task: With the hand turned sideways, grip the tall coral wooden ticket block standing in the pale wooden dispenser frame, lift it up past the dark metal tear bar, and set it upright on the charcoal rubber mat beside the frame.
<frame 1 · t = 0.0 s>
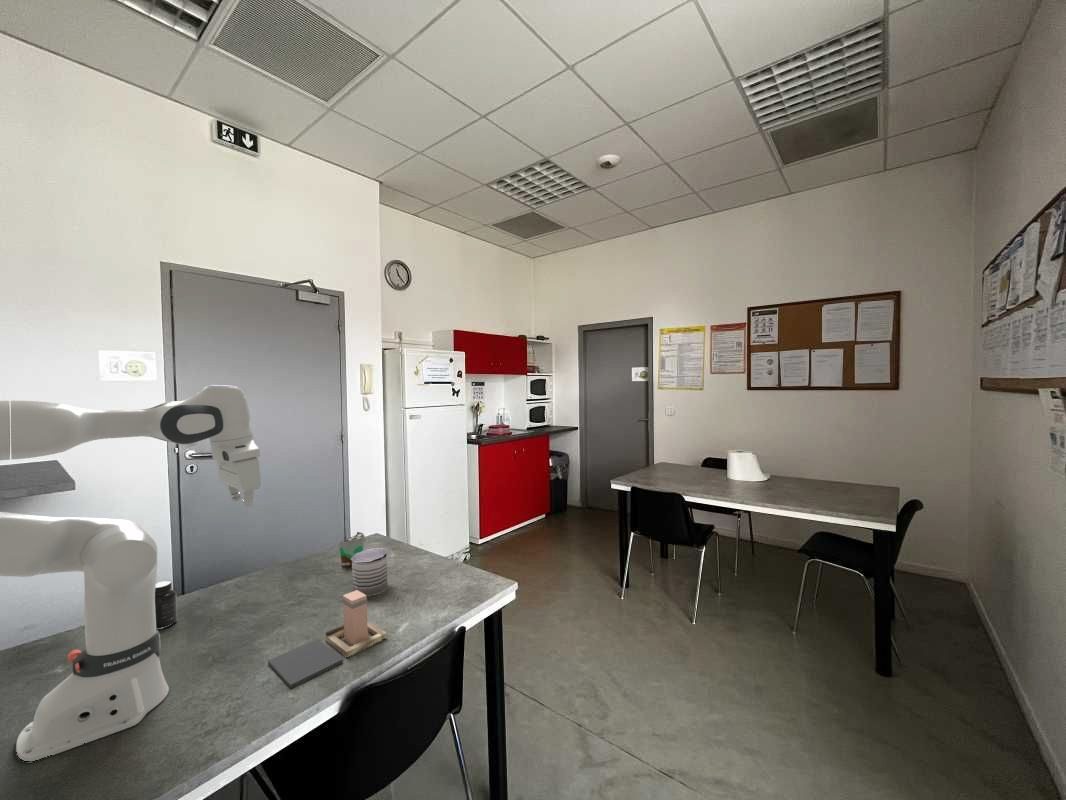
hand: (242, 503, 112), 39 cm above the table, tool pointing down, fingers open, 8 cm apart
ticket block: (356, 639, 119), resting in dispenser frame
dispenser frame: (356, 639, 119), on the table
can: (370, 589, 149), on the table
food container: (356, 563, 171), on the table
mat: (305, 663, 109), on the table
supplement bottle: (162, 625, 128), on the table
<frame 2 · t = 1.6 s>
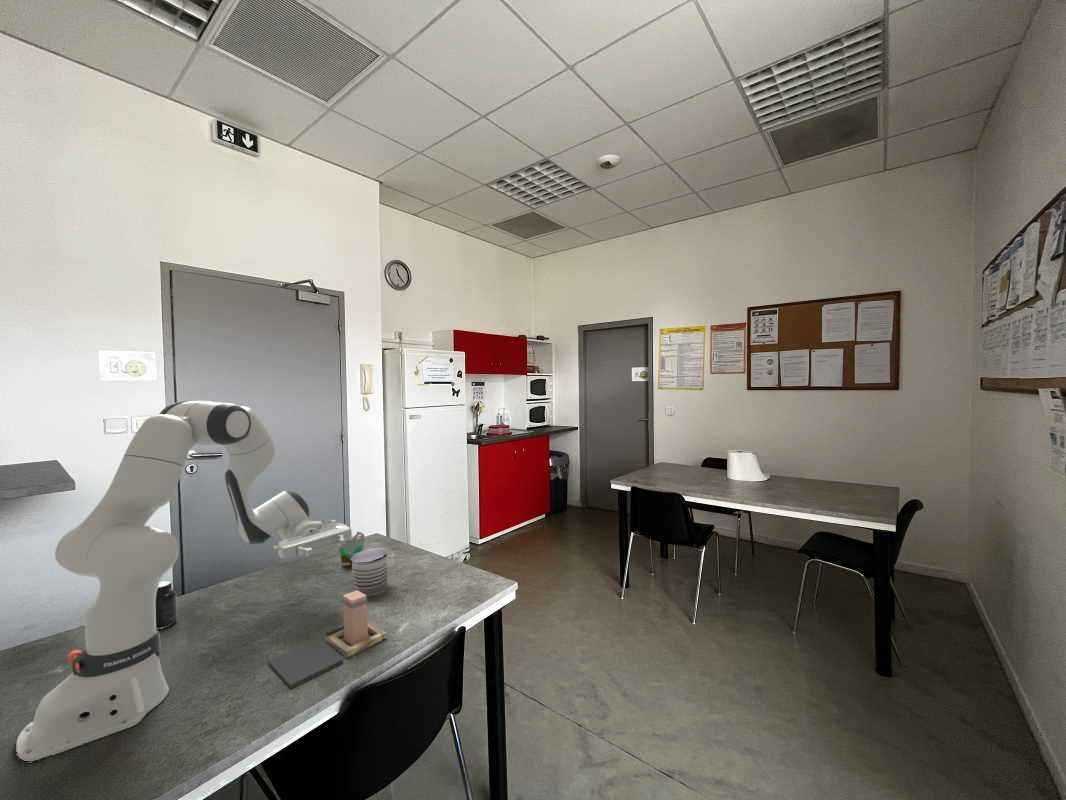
hand: (327, 547, 129), 21 cm above the table, tool horizontal, fingers open, 8 cm apart
nothing on the table moved.
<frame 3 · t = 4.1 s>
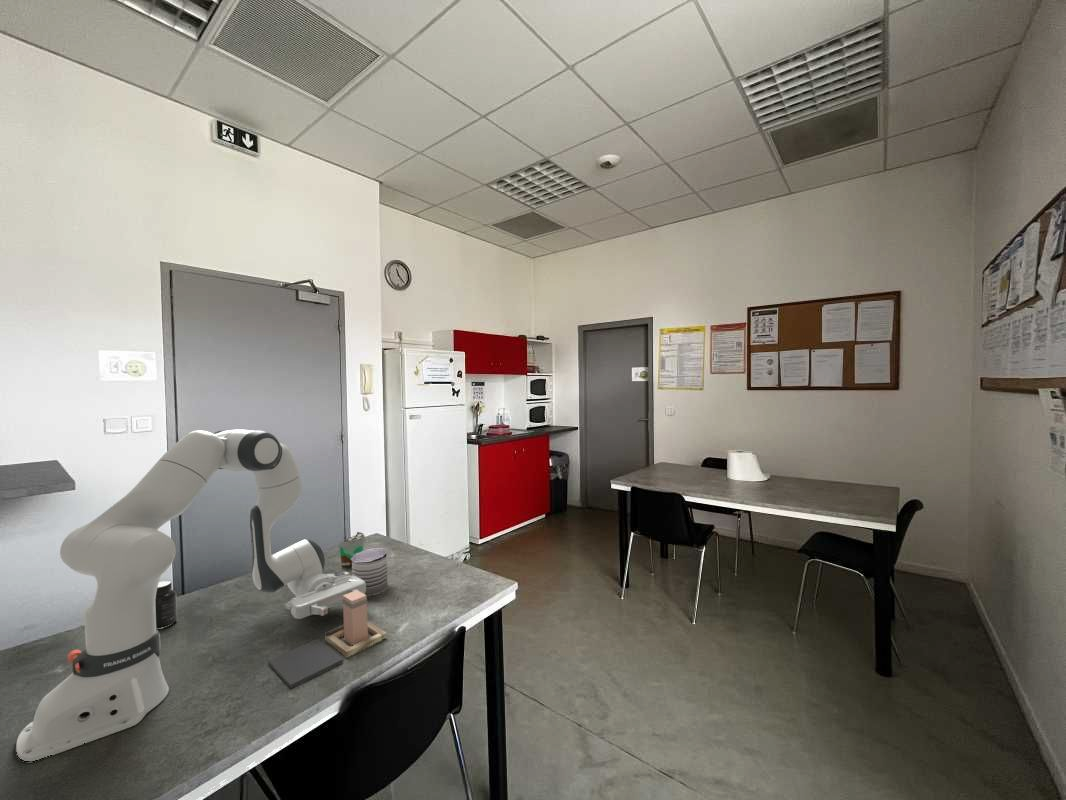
hand: (342, 605, 123), 7 cm above the table, tool horizontal, fingers open, 8 cm apart
nothing on the table moved.
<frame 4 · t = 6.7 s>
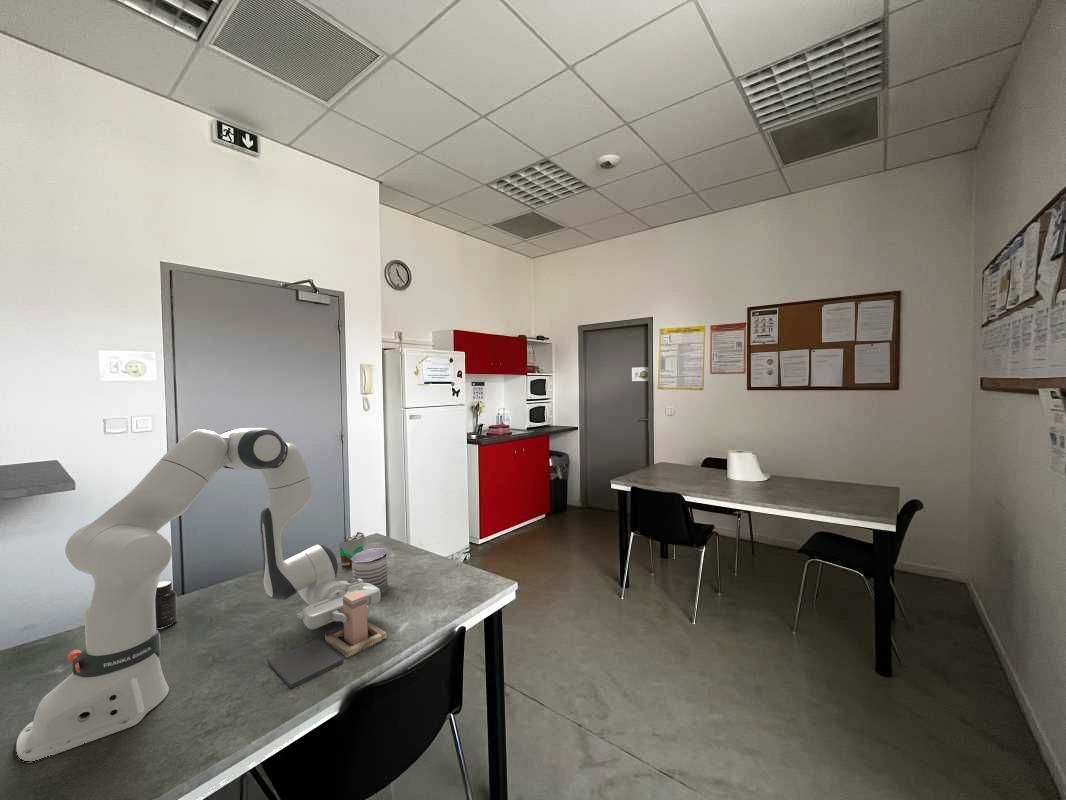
hand: (356, 614, 118), 7 cm above the table, tool horizontal, fingers closed on ticket block, 4 cm apart
ticket block: (356, 639, 119), resting in dispenser frame, touching gripper
everything else where it was.
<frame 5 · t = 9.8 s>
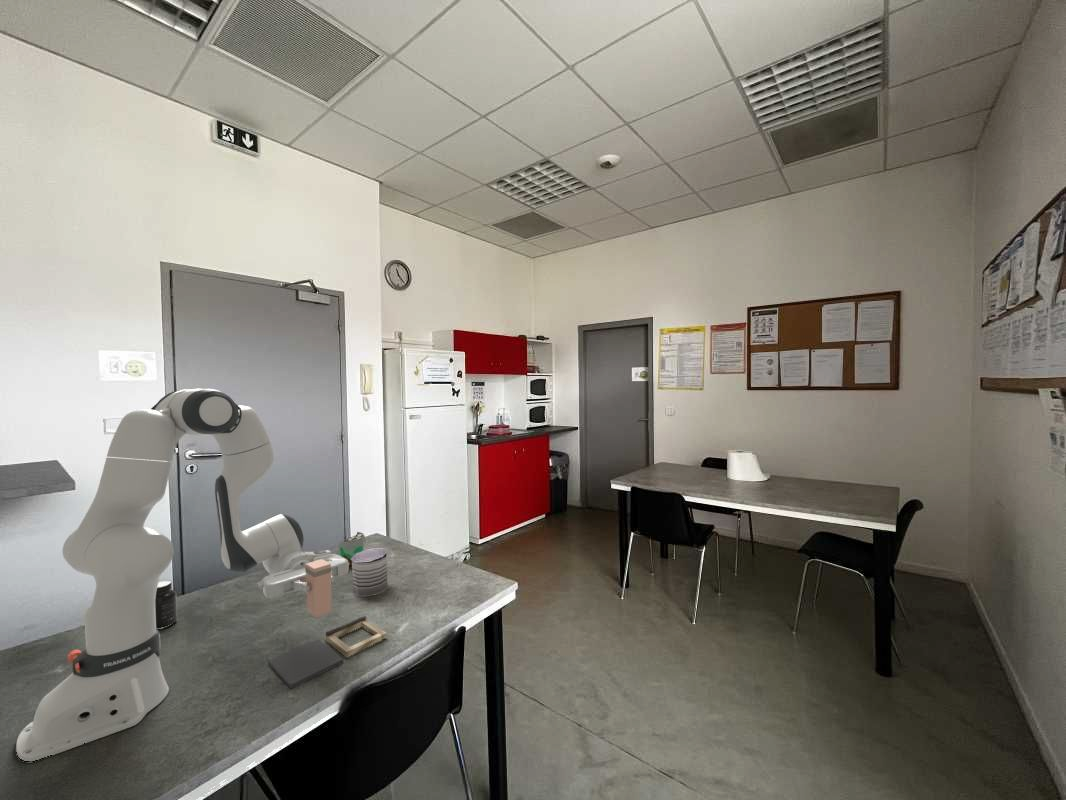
hand: (320, 584, 110), 19 cm above the table, tool horizontal, fingers closed on ticket block, 4 cm apart
ticket block: (319, 611, 111), point 12 cm above the table, touching gripper
everything else where it was.
when the fingers open (9 cm above the table, at t = 12.9 s): ticket block drops 1 cm, resting on mat.
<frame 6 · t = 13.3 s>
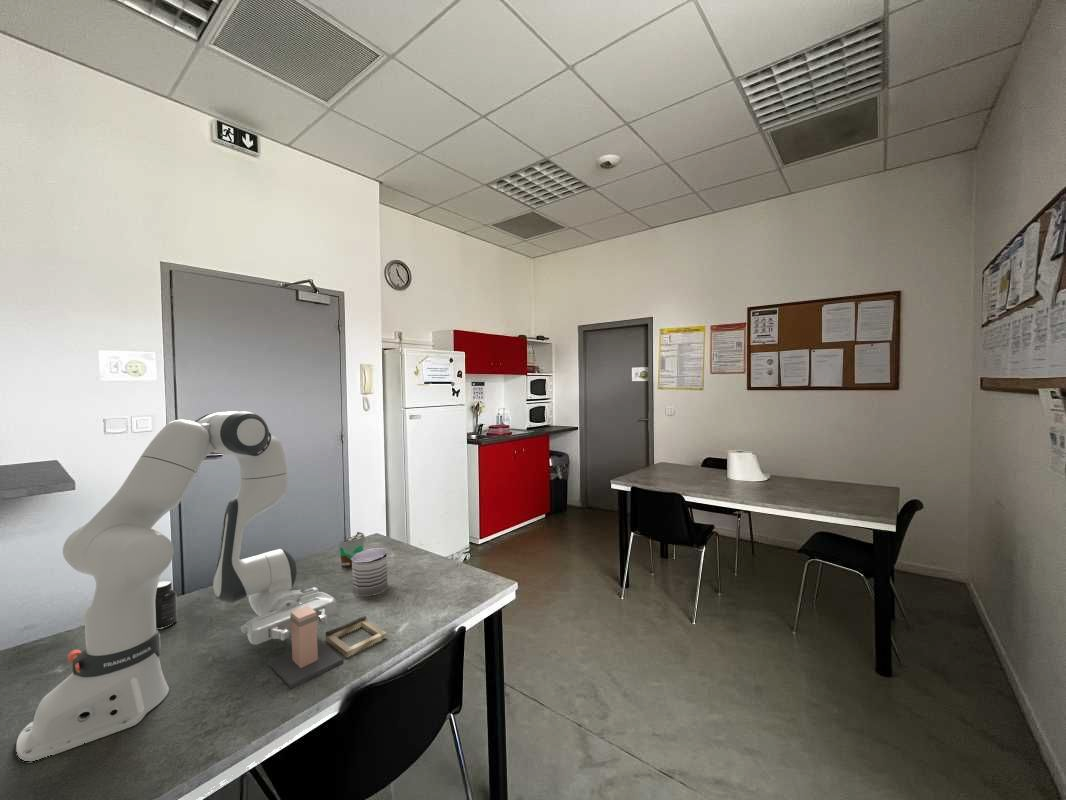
hand: (305, 628, 108), 9 cm above the table, tool horizontal, fingers open, 8 cm apart
ticket block: (305, 659, 109), point 1 cm above the table, touching mat
everything else where it was.
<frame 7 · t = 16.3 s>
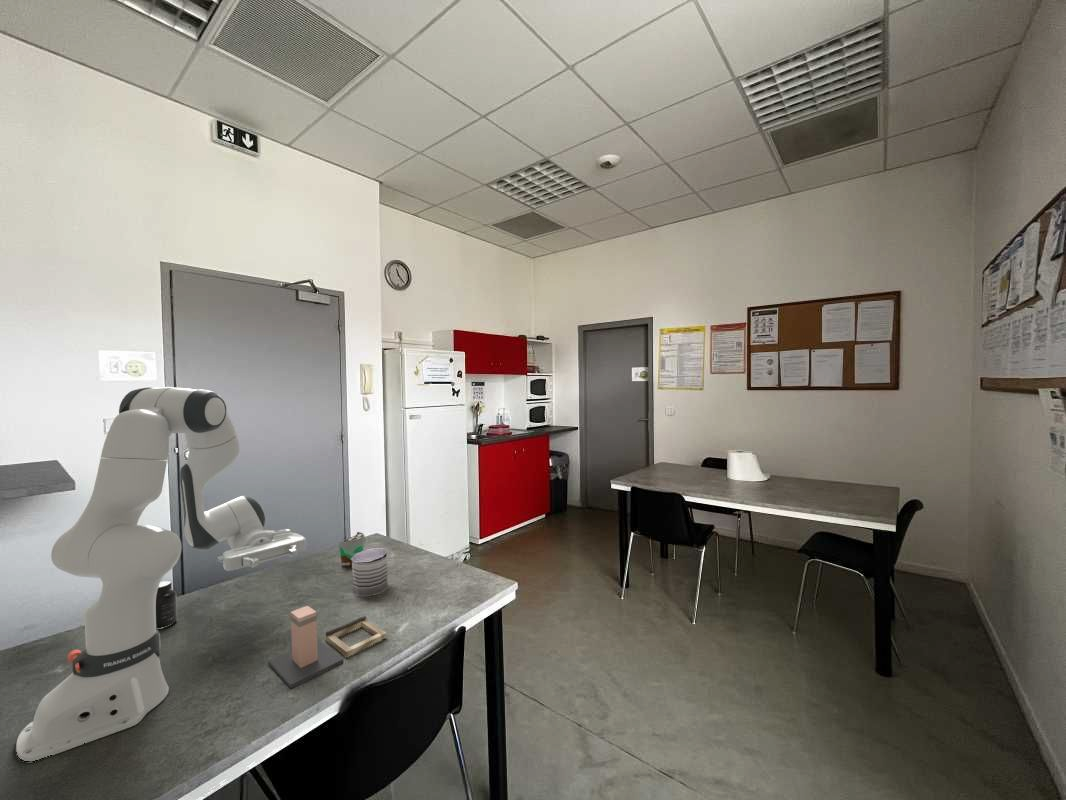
hand: (275, 558, 119), 22 cm above the table, tool horizontal, fingers open, 8 cm apart
nothing on the table moved.
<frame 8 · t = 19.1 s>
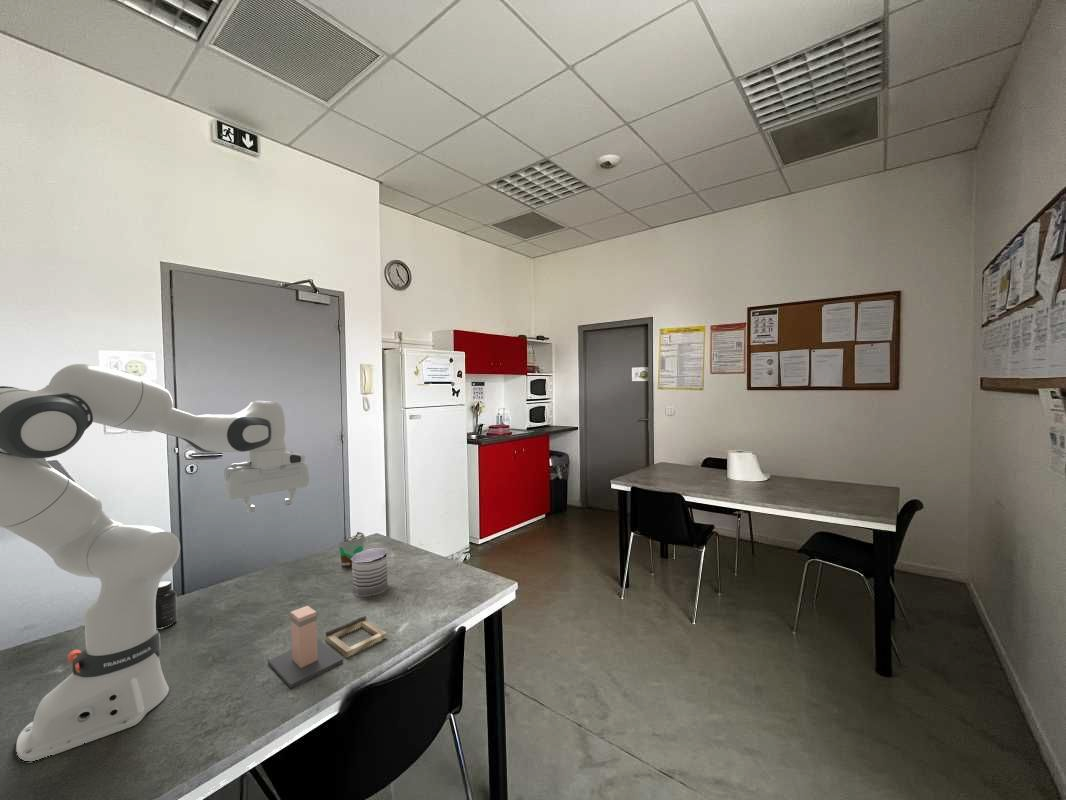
hand: (270, 508, 124), 34 cm above the table, tool pointing down, fingers open, 8 cm apart
nothing on the table moved.
at the end: ticket block inside the target area on the mat (0.1 cm from its centre), point 0.8 cm above the mat's base; ticket block tilted 0°; the gripper is holding nothing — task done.
